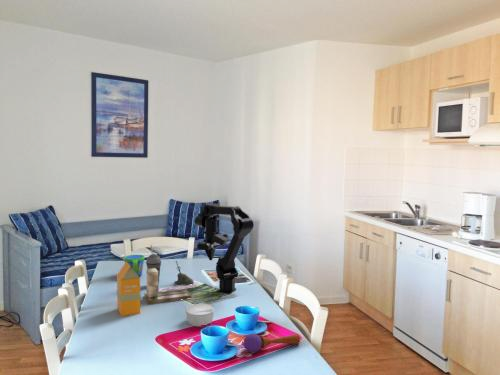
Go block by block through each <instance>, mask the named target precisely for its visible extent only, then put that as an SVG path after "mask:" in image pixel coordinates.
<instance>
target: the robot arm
mask: <svg viewBox="0 0 500 375" xmlns="http://www.w3.org/2000/svg"><path fill="white" fill-rule="evenodd" d="M217 215H218V216H219V215H225V216H227V215H228V216H230V223H231V224H232V226H233V227H232V231H233V234H232V237H231V240H230V242H229V245H228V247H227V249H226V251H225V254H224V255H223V256H220V257H218V259H217V262H216V263H215V271H216V272H215V273H216V276H217V279H218V280H219V284H218V285H219V287H218V292H219V293H221V292H222V293H228V294H232V293H233V292H235V291H236V290H237V288H236V278H238V277H239V272H238V270H237V268H236V261H235V260H236V257H237V254H238V253H239V250H240V248H241V245H242V243H243V241H244V239H245V237H247V236H248V235H249V234H250V233H251V231H252V230H253V228H254V227H255V226H254V221H253V220H252V218H251V217H250V215H249V214H247V212H245V211H244V210H243V209H242V208H241V207H240V206H239V205H235V206H231V205H229V206H226V205H225V206H224V205H221V204H218V203H206V204H205V203H204V205H203V207H202V209H201V211H200V213H197V215H196V217H195V219H194V224H195V226H197V227H200V228H204V229H205V230H204V231H203V234H204V239H203V241H201V242H198V243H197V244H196V250H204V252H205V253H206V256H207V258H208V259H209V261H213V258H214V255H215V251H216V250H217V249H218V248H219V247H220V246H222V247H223V246H226V245H227V243H228V241H229V234H227V233H223V234H220V231H219V230H218V229H217V228H218V221H220V218H219V217H218V216H217ZM236 216H238V217H239V218H237V217H236ZM217 244H219V245H217Z"/></svg>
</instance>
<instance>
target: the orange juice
mask: <svg viewBox="0 0 500 375" xmlns="http://www.w3.org/2000/svg"><path fill="white" fill-rule="evenodd" d="M116 300H117V302H116V304H117V307H116V308H117V309H116V310H117V311H118V312H119V315H120V316H121V317H125V316H132V315H139V314H141V277H140V276H138V275H137V274H136V272H135V271H134V270H133V269H132V267H131V266H130V265H129V264H128V263H127V262H125V261H124V264H123V266H122V267H121V269H120V271H119V272H118V273H117V274H116Z"/></svg>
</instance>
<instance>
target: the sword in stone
mask: <svg viewBox="0 0 500 375" xmlns="http://www.w3.org/2000/svg"><path fill="white" fill-rule="evenodd" d="M175 263H176V265H177V271H178V274H177V280H175V281H174V285H176V286H190V284H192V285H194V283H195V281H194V280H193V278H191V277H190V276H188V275H187V274H185V273H183V272H181V267H180V266H179V264H178V260H175Z"/></svg>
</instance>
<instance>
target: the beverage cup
mask: <svg viewBox="0 0 500 375" xmlns="http://www.w3.org/2000/svg"><path fill="white" fill-rule="evenodd" d="M150 250H151V254H150V255H149V256H147V258H146V261H145V264H146V270H147V269H152V268H156V269H157V271H158V287H159V284H160V272H161V267H162V266H161V265H162V260H161V257H160V256H159V255H158V254H156V253H155V254H154V252H153V245H152V244H151V245H150Z"/></svg>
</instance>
